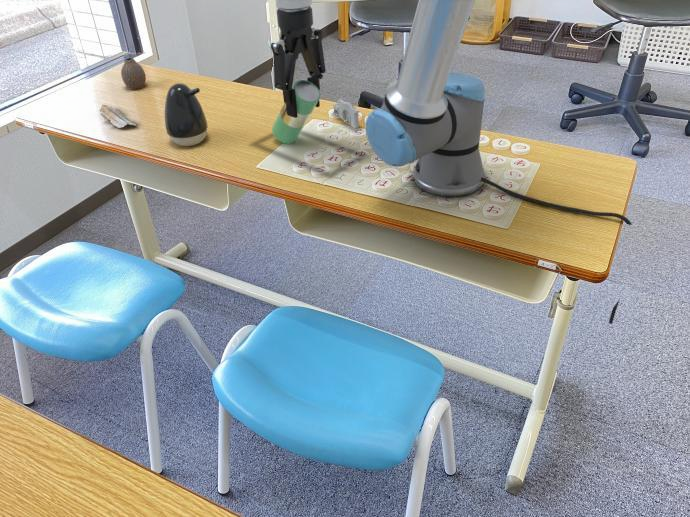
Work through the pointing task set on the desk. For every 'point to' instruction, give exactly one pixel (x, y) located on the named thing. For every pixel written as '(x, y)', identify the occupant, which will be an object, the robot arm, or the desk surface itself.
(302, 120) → the can
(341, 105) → the garden wall model
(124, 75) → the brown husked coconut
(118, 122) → the fossil
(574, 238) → the desk surface
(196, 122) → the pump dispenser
